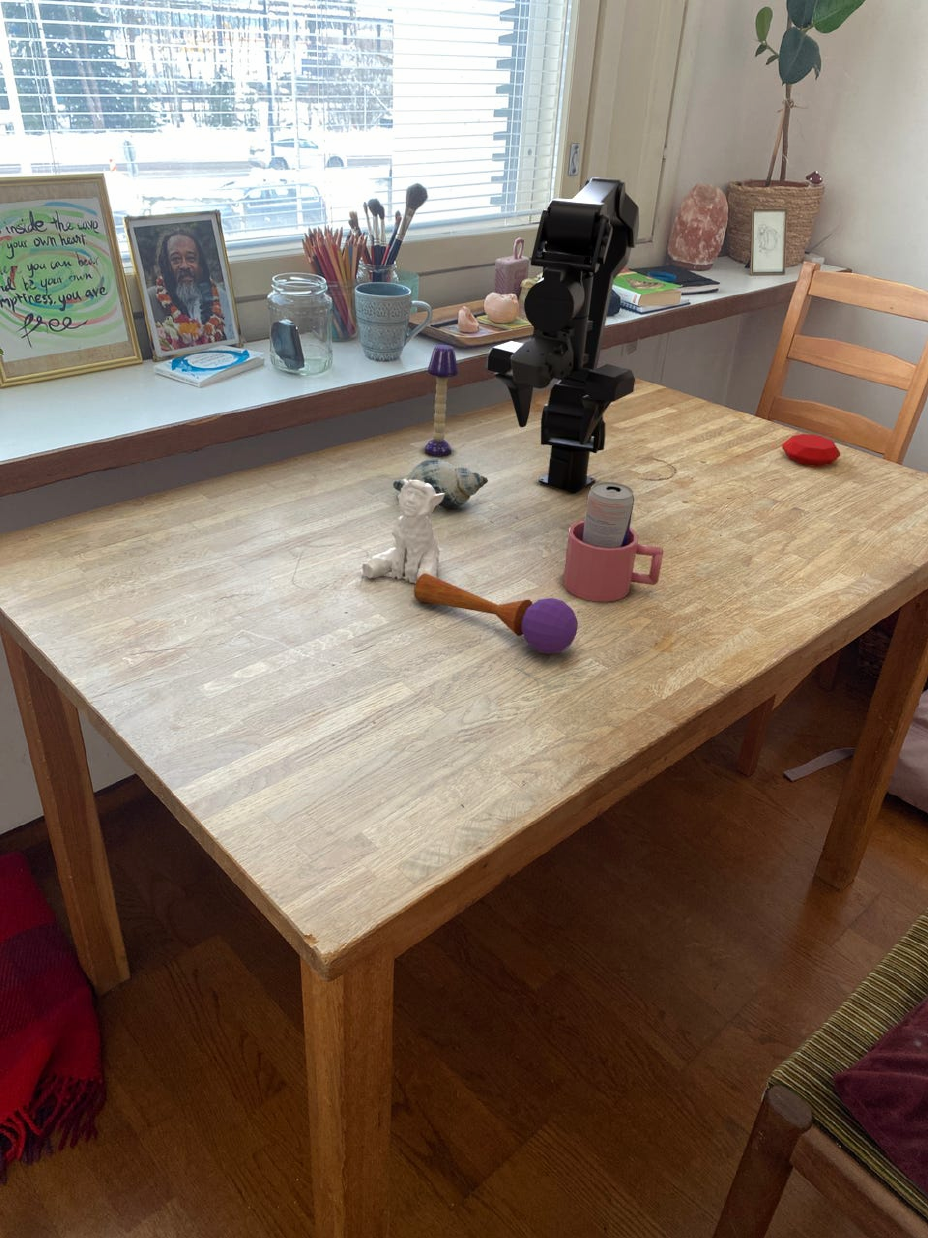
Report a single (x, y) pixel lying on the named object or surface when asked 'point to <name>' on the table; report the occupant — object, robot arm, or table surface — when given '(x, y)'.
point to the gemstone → (811, 450)
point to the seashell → (446, 481)
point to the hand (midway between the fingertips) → (552, 435)
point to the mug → (606, 567)
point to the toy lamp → (441, 395)
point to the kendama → (509, 613)
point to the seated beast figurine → (410, 537)
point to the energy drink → (608, 515)
